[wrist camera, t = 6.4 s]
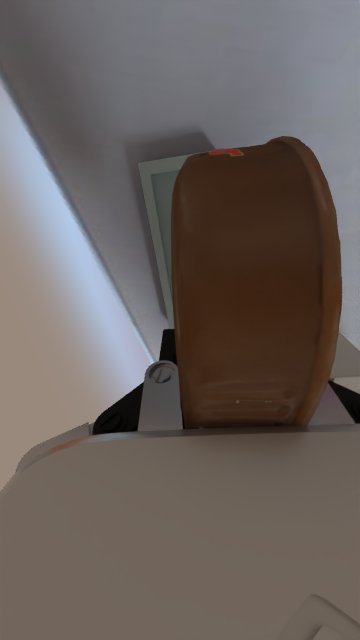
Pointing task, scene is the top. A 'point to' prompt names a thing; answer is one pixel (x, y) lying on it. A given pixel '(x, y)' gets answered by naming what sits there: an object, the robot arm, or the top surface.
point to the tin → (254, 285)
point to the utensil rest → (161, 216)
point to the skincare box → (346, 365)
